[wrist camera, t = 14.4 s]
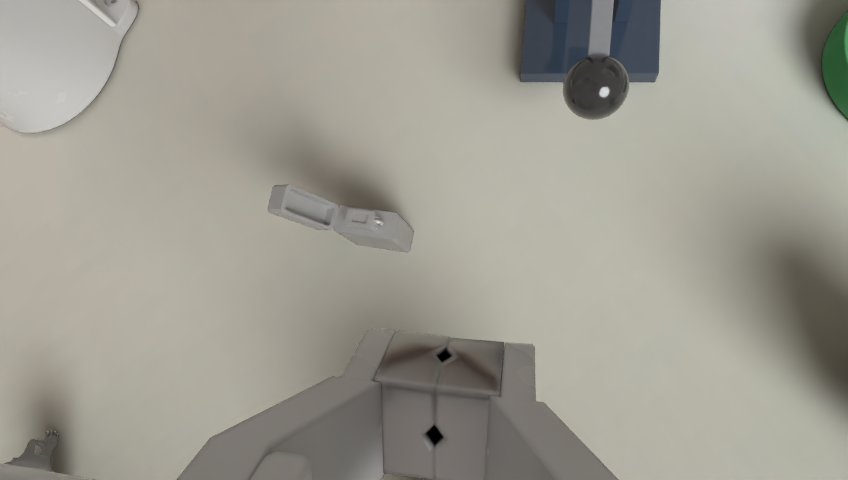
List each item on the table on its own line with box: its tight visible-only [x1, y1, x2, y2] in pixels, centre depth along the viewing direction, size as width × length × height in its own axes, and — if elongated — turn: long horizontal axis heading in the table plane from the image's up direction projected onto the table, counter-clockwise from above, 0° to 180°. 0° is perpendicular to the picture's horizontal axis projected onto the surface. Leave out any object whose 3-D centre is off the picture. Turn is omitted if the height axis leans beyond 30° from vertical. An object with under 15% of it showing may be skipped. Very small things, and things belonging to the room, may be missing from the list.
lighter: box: [268, 185, 414, 252], centre depth 33 cm, size 7×2×8 cm, turn 79°
